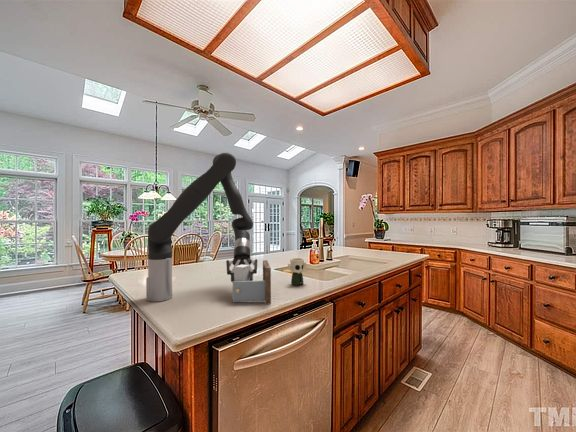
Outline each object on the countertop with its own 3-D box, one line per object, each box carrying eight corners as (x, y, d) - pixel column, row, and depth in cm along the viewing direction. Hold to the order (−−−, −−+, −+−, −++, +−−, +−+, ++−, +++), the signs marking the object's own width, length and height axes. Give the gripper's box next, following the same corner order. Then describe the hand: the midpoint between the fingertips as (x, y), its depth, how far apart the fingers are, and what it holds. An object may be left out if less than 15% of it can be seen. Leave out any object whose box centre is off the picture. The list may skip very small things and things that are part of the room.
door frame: (265, 303, 103) (265, 268, 103) (263, 290, 121) (262, 260, 121) (270, 303, 103) (270, 267, 103) (267, 290, 122) (267, 260, 122)
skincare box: (242, 296, 107) (242, 267, 107) (233, 295, 108) (233, 266, 108) (250, 292, 112) (249, 264, 112) (241, 291, 114) (241, 264, 114)
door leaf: (266, 302, 103) (266, 282, 103) (232, 303, 102) (232, 282, 102) (266, 300, 106) (266, 280, 106) (233, 301, 105) (233, 281, 105)
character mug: (291, 287, 126) (291, 260, 126) (284, 284, 133) (284, 258, 133) (310, 284, 132) (309, 259, 132) (302, 281, 138) (302, 257, 138)
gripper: (225, 245, 116) (223, 277, 105) (257, 244, 119) (259, 276, 107) (226, 255, 122) (224, 287, 110) (257, 254, 124) (258, 285, 112)
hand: (241, 281), depth 109 cm, fingers closed on skincare box, 6 cm apart
